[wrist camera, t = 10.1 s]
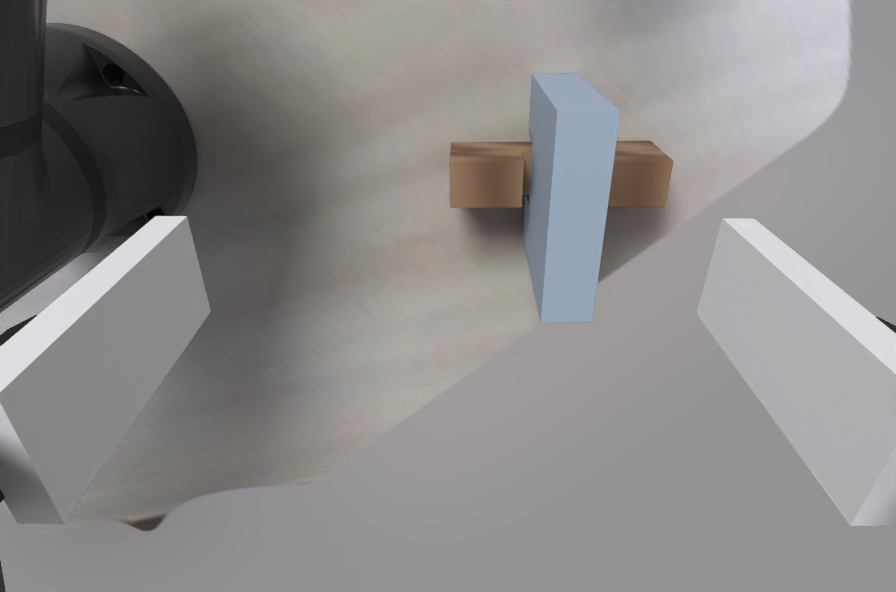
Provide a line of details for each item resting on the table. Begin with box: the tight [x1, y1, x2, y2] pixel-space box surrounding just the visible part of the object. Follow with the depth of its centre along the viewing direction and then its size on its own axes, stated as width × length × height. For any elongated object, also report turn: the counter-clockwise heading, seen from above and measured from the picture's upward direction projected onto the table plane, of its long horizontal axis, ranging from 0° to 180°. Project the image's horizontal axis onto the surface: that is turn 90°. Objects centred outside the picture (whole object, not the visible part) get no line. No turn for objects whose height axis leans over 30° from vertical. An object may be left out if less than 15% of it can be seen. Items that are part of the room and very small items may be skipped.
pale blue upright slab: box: [523, 73, 621, 322], centre depth 35 cm, size 3×12×12 cm, turn 1°
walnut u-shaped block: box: [449, 141, 673, 208], centre depth 38 cm, size 14×3×5 cm, turn 91°
